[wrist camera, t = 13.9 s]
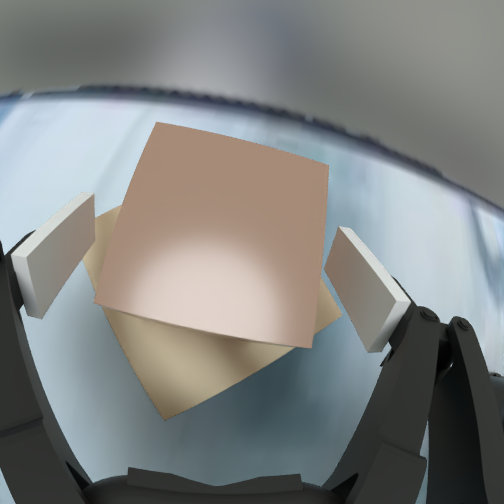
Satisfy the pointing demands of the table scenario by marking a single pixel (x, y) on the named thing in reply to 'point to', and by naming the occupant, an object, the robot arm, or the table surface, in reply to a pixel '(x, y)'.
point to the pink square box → (219, 239)
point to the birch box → (186, 344)
